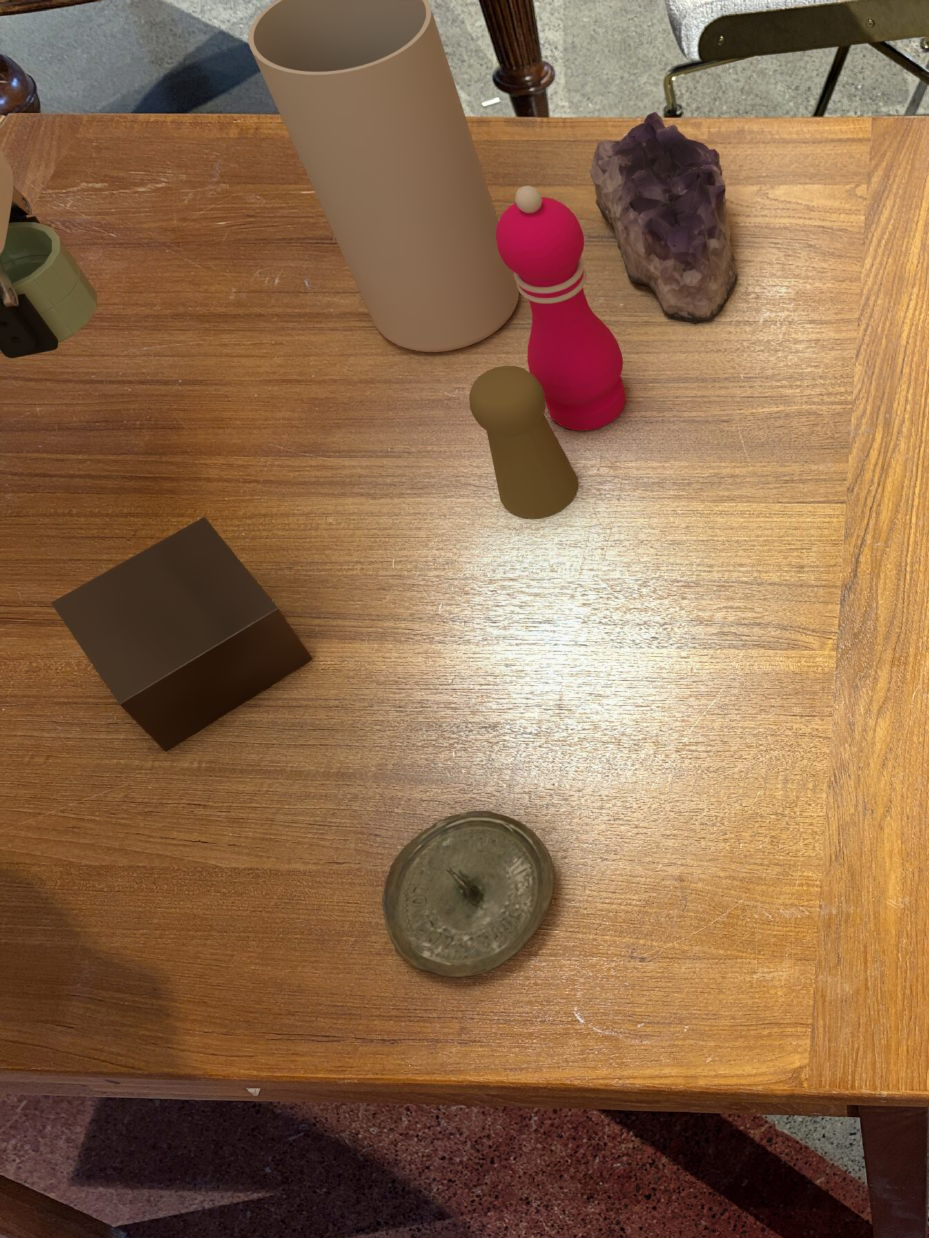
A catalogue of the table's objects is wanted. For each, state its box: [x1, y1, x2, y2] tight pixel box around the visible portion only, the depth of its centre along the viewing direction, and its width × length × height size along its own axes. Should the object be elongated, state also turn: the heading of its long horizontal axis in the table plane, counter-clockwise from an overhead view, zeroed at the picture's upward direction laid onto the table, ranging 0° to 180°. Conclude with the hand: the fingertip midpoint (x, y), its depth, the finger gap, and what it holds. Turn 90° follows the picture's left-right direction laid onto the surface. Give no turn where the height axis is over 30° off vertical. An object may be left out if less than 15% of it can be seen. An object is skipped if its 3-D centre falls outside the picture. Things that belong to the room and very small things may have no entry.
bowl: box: [0, 222, 98, 344], centre depth 82 cm, size 7×7×5 cm
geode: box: [589, 111, 739, 324], centre depth 110 cm, size 20×12×10 cm, turn 22°
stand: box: [50, 516, 314, 752], centre depth 87 cm, size 11×11×6 cm
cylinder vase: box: [247, 0, 520, 353], centre depth 99 cm, size 12×12×25 cm
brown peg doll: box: [468, 365, 580, 520], centre depth 93 cm, size 6×6×11 cm
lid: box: [381, 810, 555, 979], centre depth 77 cm, size 11×10×5 cm
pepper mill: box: [496, 185, 627, 432], centre depth 95 cm, size 7×7×20 cm
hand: (38, 310), depth 83 cm, fingers closed on bowl, 7 cm apart
